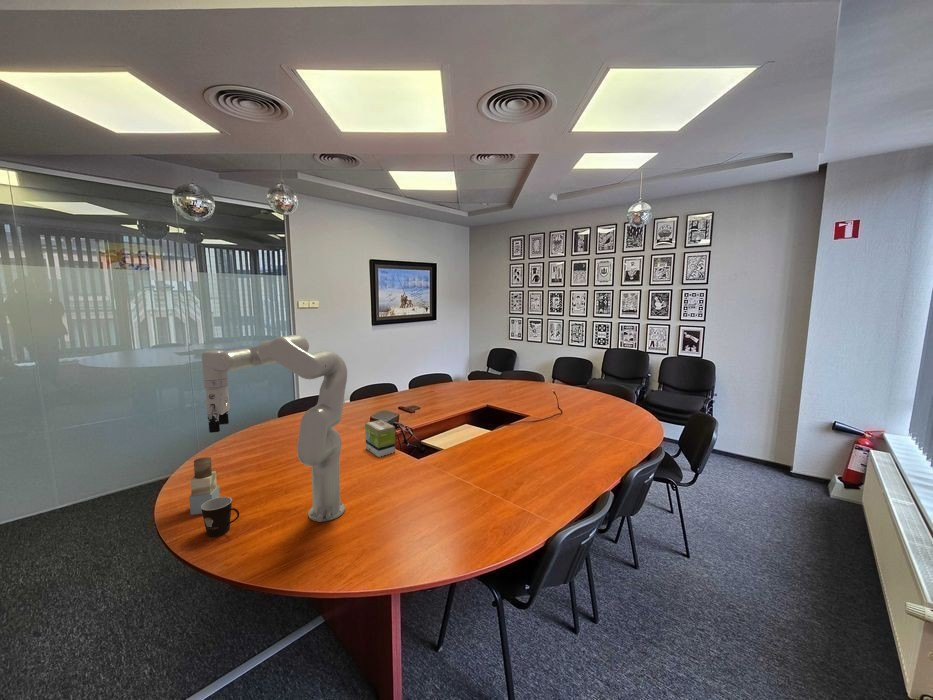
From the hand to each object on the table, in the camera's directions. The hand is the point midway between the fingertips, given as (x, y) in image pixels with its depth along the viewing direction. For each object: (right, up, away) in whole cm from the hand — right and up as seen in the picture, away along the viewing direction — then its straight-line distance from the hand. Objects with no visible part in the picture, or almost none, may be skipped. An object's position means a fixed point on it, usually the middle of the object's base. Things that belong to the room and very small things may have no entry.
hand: (219, 427), depth 139 cm
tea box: (+47, -25, +57) cm, 78 cm away
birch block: (-4, -23, -2) cm, 23 cm away
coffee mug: (+11, -32, -16) cm, 37 cm away
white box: (-4, -30, -1) cm, 30 cm away
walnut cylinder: (-4, -17, -3) cm, 18 cm away
